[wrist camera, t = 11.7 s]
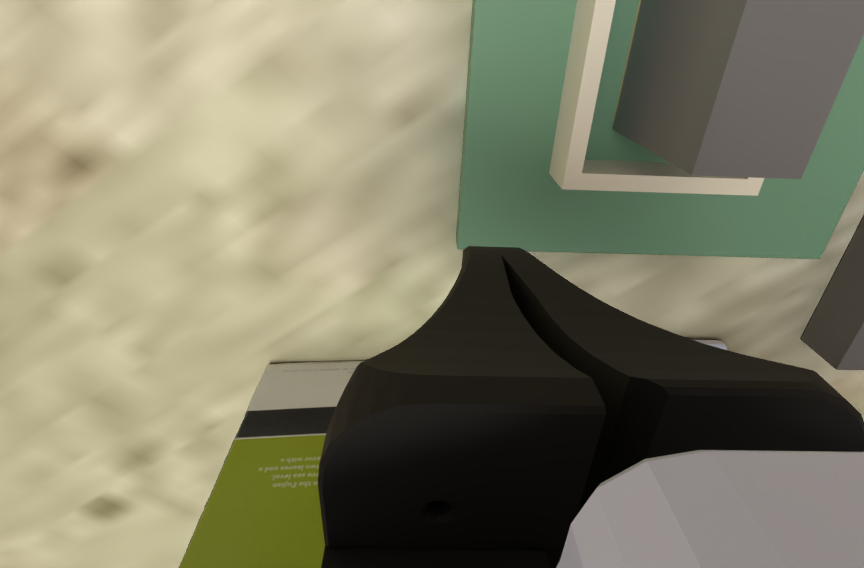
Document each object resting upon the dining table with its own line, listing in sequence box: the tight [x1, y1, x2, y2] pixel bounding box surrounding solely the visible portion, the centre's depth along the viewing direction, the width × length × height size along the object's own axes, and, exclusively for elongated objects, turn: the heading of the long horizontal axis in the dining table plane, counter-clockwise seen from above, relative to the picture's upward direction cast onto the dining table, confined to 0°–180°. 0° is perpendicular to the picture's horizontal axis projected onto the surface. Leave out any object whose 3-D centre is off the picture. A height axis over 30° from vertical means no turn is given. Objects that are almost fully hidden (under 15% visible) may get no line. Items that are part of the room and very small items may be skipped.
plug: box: [613, 0, 864, 179], centre depth 14 cm, size 6×3×6 cm, turn 177°
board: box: [456, 0, 864, 259], centre depth 16 cm, size 16×16×3 cm
